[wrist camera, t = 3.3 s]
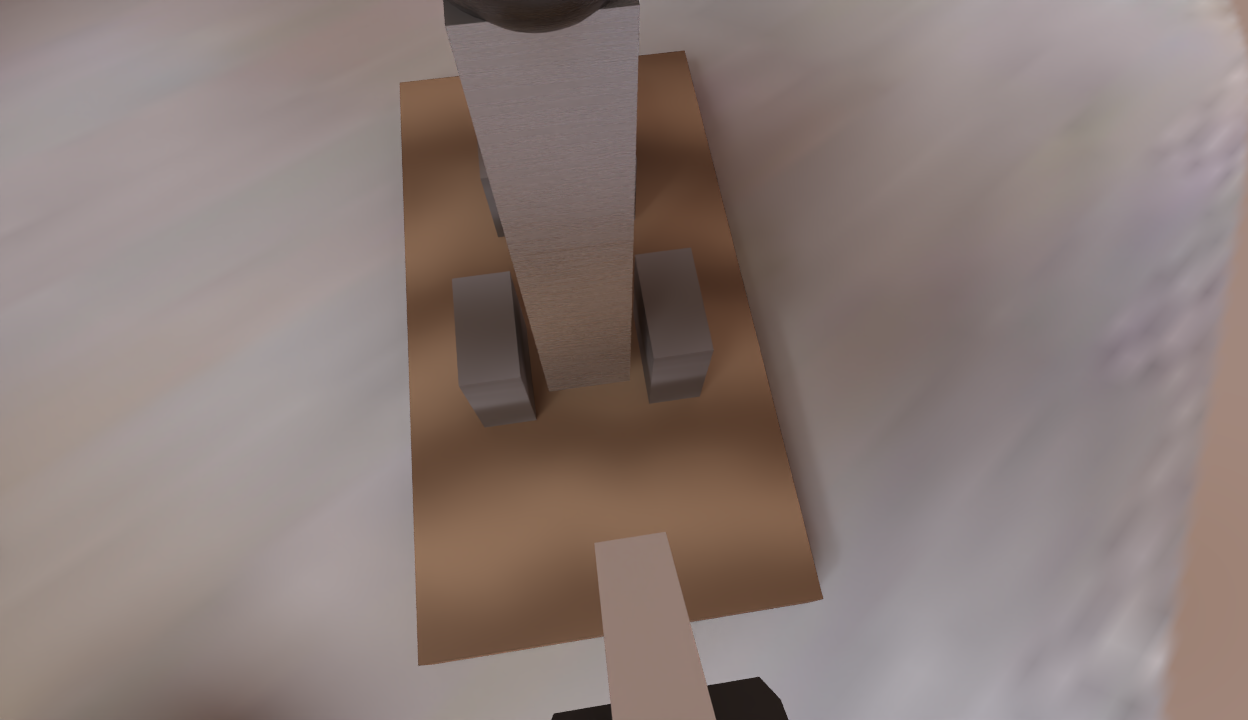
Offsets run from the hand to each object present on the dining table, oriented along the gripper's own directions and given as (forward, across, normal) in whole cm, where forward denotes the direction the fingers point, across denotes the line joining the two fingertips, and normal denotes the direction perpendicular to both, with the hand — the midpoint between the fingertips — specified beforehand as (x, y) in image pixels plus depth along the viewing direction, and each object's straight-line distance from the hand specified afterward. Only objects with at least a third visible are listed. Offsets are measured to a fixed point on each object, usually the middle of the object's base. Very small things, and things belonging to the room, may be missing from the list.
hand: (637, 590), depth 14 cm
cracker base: (+17, 0, +1) cm, 17 cm away
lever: (+12, 0, +2) cm, 12 cm away
